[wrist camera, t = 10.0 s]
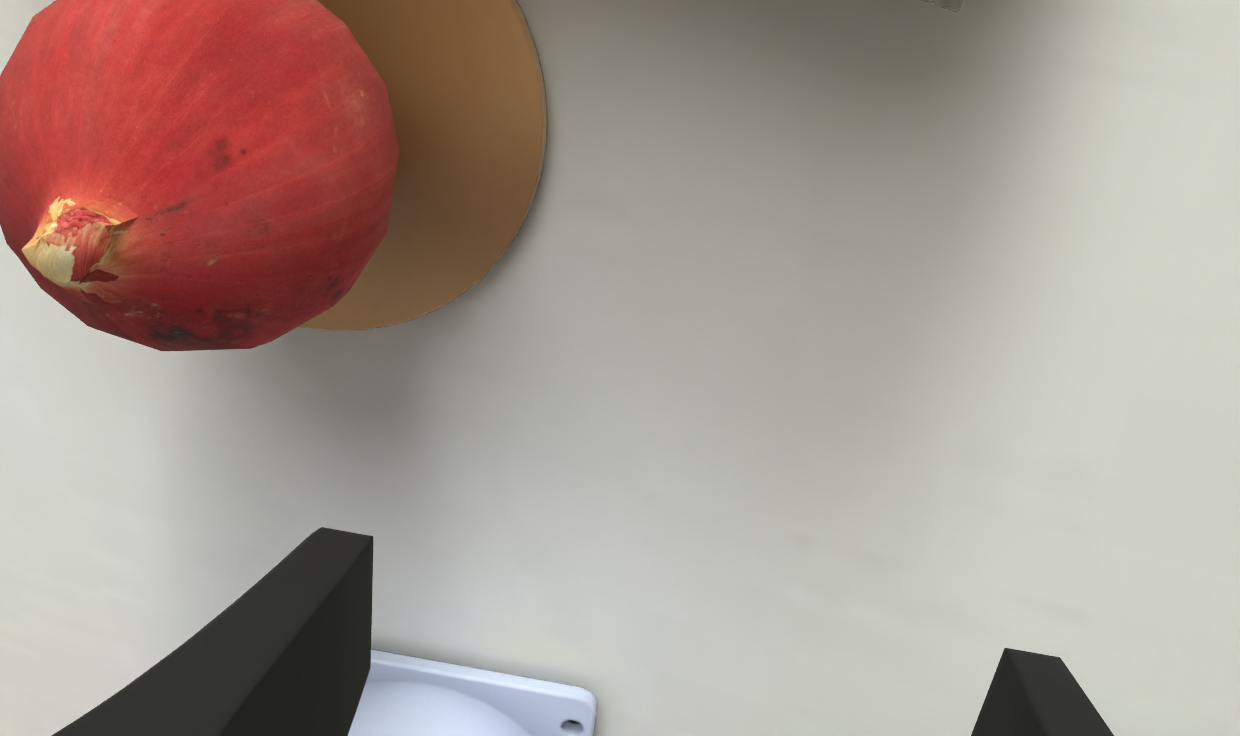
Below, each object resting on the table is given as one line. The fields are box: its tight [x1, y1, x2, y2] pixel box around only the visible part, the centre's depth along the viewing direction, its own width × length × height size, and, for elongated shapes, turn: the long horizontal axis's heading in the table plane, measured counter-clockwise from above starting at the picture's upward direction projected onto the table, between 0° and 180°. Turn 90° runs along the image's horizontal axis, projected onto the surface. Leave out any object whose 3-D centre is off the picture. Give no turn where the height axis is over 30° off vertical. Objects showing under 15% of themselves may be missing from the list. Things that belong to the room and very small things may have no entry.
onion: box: [0, 0, 400, 351], centre depth 18 cm, size 6×6×8 cm
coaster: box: [299, 0, 547, 330], centre depth 22 cm, size 9×9×1 cm
